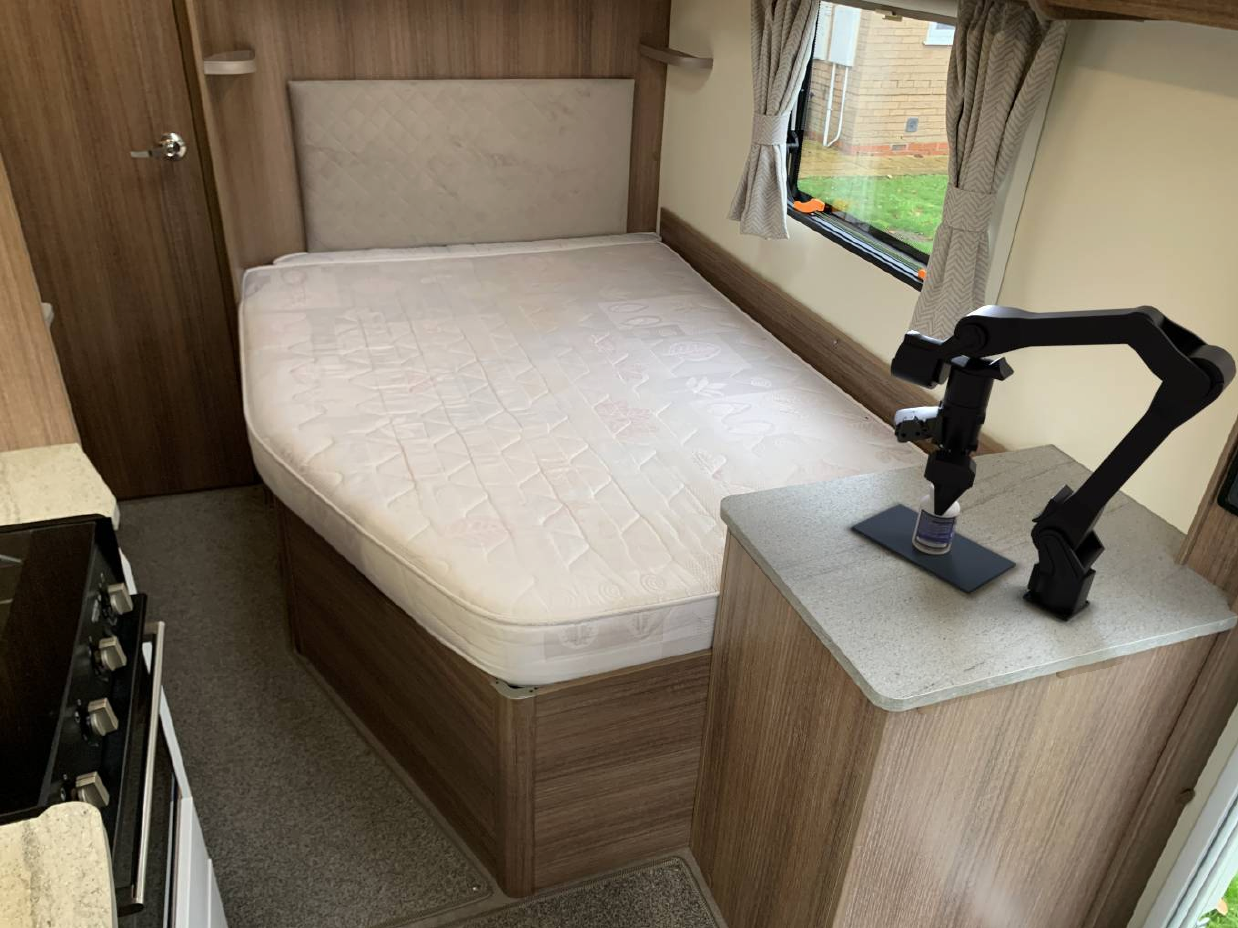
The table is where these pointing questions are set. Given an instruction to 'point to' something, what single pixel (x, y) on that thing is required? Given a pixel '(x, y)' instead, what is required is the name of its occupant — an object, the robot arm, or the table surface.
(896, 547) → the rubber mat
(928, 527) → the pill bottle
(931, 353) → the robot arm
